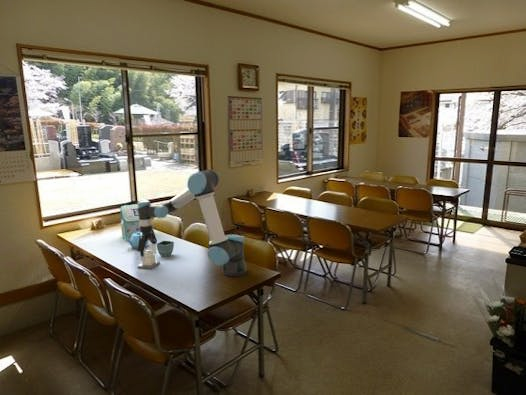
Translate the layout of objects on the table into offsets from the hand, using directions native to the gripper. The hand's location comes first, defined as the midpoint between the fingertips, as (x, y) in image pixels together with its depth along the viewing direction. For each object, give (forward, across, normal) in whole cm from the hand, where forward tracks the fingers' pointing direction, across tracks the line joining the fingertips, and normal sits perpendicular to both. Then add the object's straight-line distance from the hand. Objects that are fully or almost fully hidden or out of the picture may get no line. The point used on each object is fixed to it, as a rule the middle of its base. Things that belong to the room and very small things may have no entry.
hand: (148, 257), depth 247 cm
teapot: (+5, -33, -26) cm, 43 cm away
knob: (+4, 0, 0) cm, 4 cm away
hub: (+6, 0, 0) cm, 6 cm away
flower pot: (+6, -20, +2) cm, 21 cm away
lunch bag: (+5, -55, -40) cm, 69 cm away
